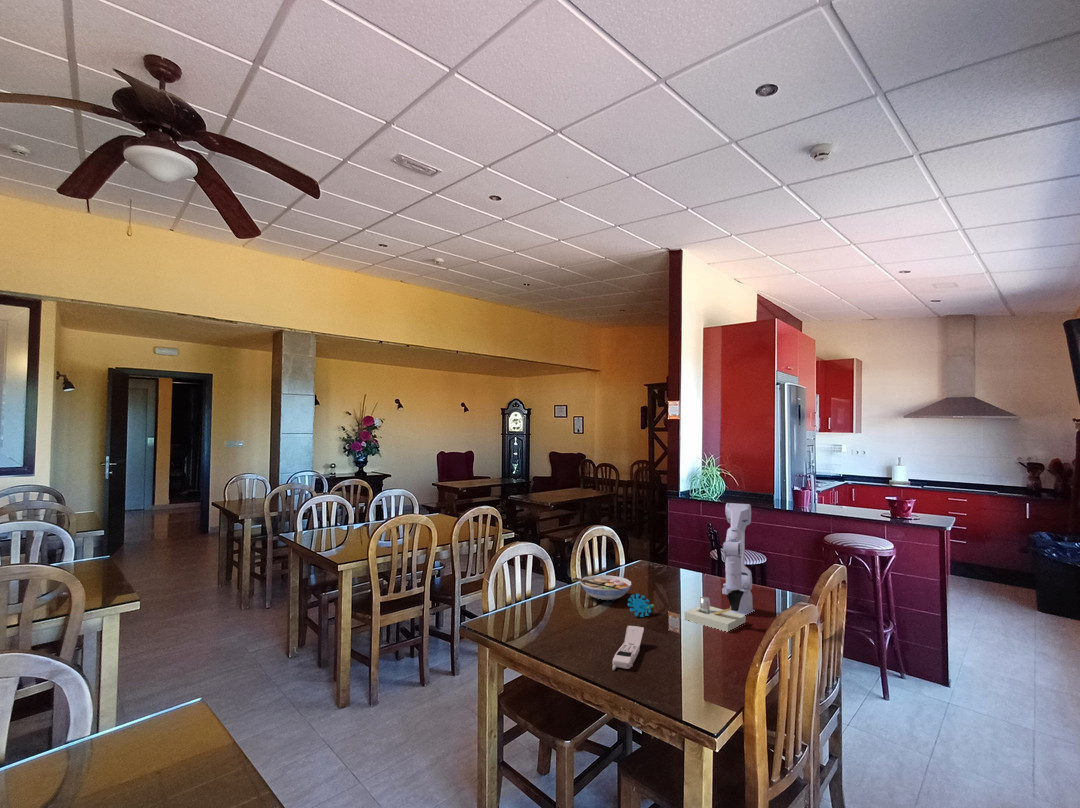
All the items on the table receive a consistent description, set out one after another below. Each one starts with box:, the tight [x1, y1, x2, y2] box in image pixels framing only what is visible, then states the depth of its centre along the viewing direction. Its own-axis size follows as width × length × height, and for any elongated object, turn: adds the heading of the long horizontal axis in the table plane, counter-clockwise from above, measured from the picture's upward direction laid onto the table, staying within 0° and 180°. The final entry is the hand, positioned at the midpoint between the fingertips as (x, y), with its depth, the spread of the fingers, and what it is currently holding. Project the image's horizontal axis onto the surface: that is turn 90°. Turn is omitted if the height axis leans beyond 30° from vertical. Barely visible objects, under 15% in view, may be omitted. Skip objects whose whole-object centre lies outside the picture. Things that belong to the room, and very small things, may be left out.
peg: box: [699, 596, 711, 614], centre depth 203 cm, size 4×4×8 cm
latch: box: [713, 607, 732, 615], centre depth 197 cm, size 8×3×1 cm, turn 43°
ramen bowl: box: [572, 574, 632, 601], centre depth 228 cm, size 25×23×8 cm
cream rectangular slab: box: [684, 605, 747, 633], centre depth 200 cm, size 14×18×3 cm
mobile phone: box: [611, 625, 645, 671], centre depth 168 cm, size 6×6×25 cm
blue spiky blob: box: [627, 593, 654, 618], centre depth 208 cm, size 11×6×10 cm
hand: (734, 610), depth 194 cm, fingers closed, pressing on latch
